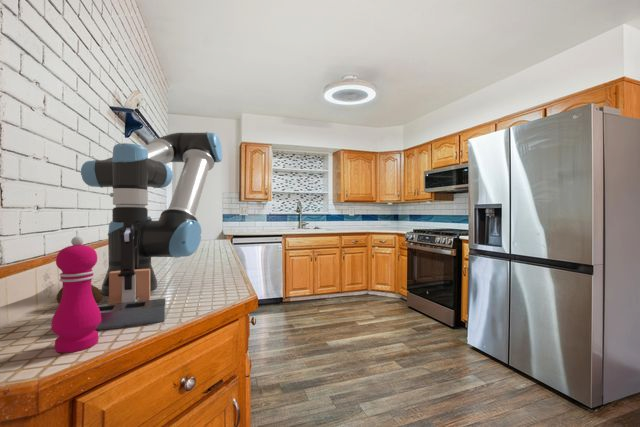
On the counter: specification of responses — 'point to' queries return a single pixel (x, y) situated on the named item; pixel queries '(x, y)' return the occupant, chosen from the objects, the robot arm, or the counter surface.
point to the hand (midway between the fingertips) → (130, 299)
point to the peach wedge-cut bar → (140, 286)
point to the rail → (131, 313)
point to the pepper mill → (76, 299)
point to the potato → (95, 292)
